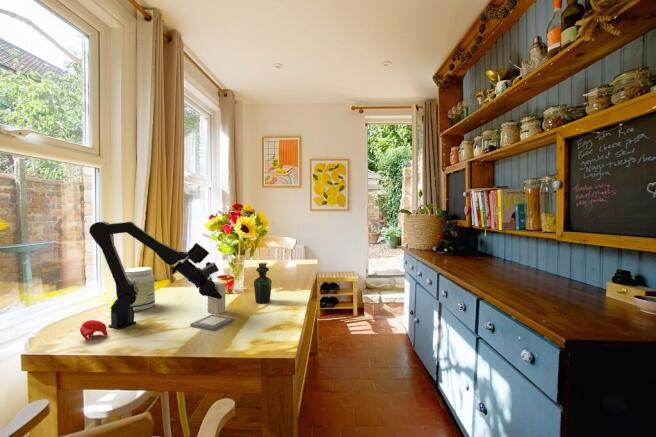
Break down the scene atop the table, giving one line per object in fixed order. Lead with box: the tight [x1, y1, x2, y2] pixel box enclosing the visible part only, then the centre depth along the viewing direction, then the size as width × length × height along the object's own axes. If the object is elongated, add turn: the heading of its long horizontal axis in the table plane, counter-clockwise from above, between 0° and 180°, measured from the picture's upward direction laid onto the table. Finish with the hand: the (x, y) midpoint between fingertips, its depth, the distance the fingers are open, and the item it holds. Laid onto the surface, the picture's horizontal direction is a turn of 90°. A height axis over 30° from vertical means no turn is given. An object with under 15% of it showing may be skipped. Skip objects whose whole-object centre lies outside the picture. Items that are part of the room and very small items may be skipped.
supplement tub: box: [124, 266, 156, 312], centre depth 137 cm, size 12×12×17 cm
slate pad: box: [189, 313, 235, 332], centre depth 118 cm, size 11×11×1 cm
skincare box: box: [207, 281, 227, 315], centre depth 131 cm, size 6×4×12 cm
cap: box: [79, 319, 108, 342], centre depth 105 cm, size 8×6×6 cm
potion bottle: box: [253, 262, 273, 305], centre depth 144 cm, size 8×8×18 cm
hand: (220, 295), depth 131 cm, fingers closed on skincare box, 7 cm apart
